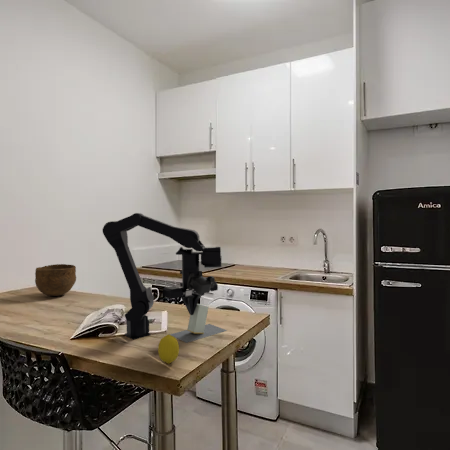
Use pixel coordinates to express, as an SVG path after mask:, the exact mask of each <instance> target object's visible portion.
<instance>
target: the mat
mask: <svg viewBox="0 0 450 450" xmlns="http://www.w3.org/2000/svg"><path fill="white" fill-rule="evenodd" d="M224 332H228V329H225V328H221V327H219V326H216V325H214V324H211V323H206V324H205V329H204V334H200V333H192V332H190V331H188V330H187V329H185V330H181V331H178V332H174V333H169V334H170V335H171V336H173V337H175V338H176V339H177V340H180V341H182V342H183V343H185V344H186V343H187V344H188V343H191V342H194V341H198V340H200V339H203V338H207V337H211V336H214V335H218V334H221V333H224Z"/></svg>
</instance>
